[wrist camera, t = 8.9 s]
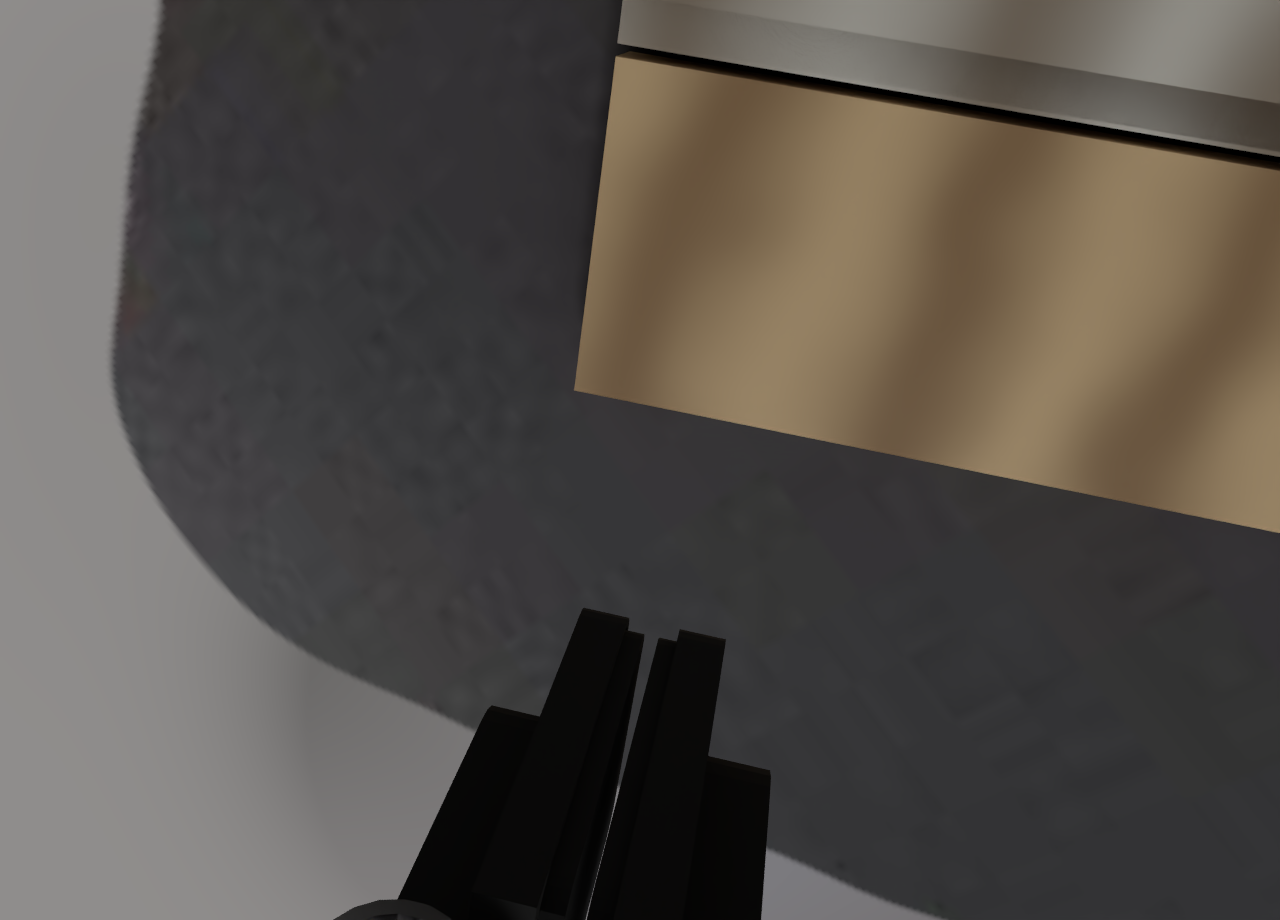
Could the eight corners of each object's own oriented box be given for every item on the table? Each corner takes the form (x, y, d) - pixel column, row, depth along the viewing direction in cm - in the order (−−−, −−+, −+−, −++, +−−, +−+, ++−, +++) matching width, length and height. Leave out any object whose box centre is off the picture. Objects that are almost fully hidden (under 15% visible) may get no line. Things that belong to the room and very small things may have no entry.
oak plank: (1420, 187, 24) (1467, 203, 23) (1263, 500, 28) (1292, 535, 27) (629, 51, 26) (615, 56, 24) (588, 365, 30) (574, 390, 28)
